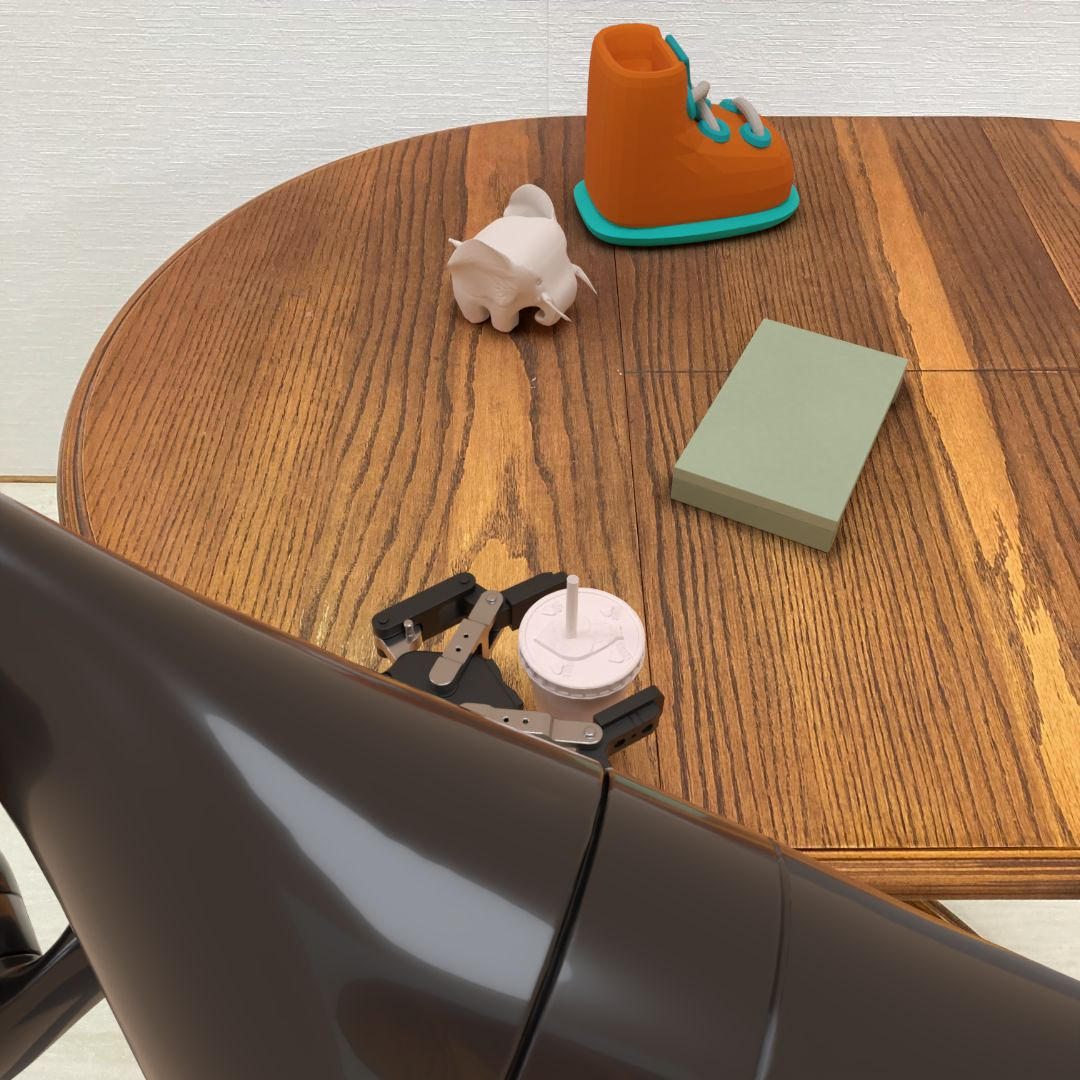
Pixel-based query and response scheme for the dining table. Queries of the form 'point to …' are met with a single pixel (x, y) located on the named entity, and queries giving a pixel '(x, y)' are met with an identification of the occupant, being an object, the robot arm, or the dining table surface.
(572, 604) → the smoothie
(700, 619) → the dining table surface
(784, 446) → the shelf
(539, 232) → the elephant figurine
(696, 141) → the toy shoe
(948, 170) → the dining table surface
